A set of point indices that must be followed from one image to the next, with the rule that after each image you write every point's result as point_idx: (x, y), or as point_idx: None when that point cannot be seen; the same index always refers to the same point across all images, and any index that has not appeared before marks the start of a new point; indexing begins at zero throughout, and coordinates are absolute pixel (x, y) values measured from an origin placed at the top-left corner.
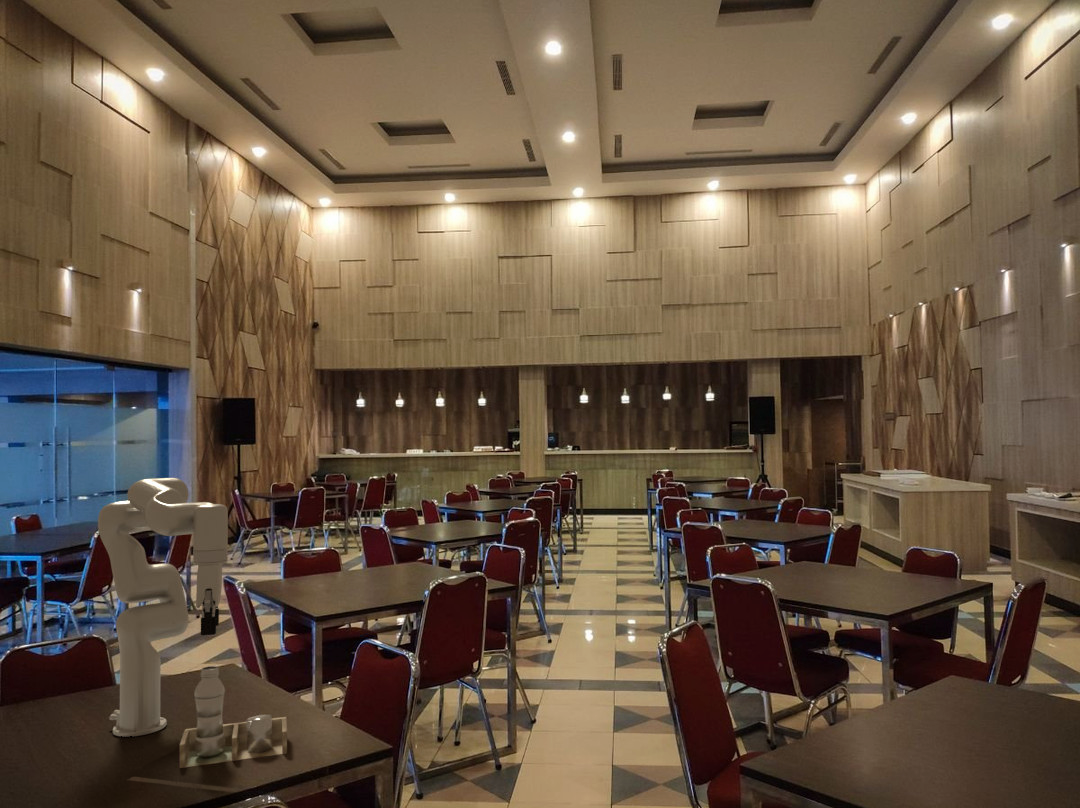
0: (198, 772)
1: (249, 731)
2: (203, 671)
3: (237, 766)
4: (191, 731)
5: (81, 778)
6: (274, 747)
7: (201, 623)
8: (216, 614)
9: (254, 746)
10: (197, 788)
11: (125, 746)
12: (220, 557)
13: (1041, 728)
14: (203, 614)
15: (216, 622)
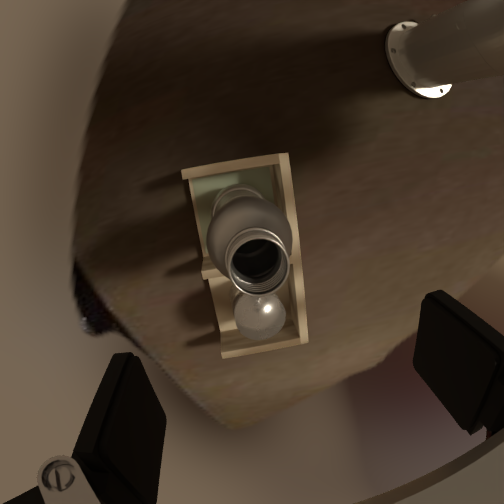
0: (175, 204)
1: (239, 295)
2: (232, 248)
3: (192, 266)
4: (279, 168)
5: (197, 15)
6: None
7: (92, 415)
8: (449, 404)
9: (231, 293)
10: (108, 224)
11: (343, 43)
12: None
13: None
14: (48, 489)
15: (421, 370)
